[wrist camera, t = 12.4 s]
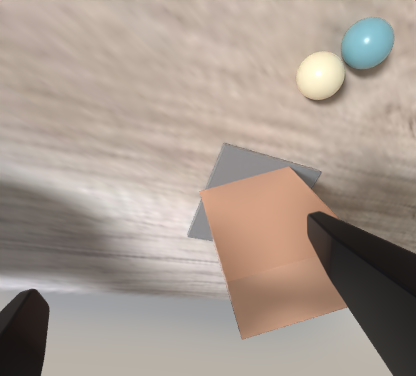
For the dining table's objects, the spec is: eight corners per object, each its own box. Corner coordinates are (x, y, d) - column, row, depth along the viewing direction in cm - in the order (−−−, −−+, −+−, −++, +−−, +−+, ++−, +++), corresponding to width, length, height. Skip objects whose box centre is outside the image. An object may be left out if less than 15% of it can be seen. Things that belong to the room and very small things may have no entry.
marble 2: (324, 57, 20) (350, 62, 17) (347, 9, 19) (379, 8, 16) (356, 71, 21) (385, 79, 18) (381, 27, 20) (416, 29, 17)
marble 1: (281, 86, 21) (300, 96, 18) (301, 42, 19) (325, 46, 17) (315, 99, 21) (338, 110, 19) (336, 58, 20) (364, 64, 18)
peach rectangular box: (213, 241, 26) (242, 339, 18) (199, 191, 23) (226, 282, 15) (292, 218, 27) (354, 304, 19) (288, 166, 24) (361, 242, 16)
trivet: (187, 234, 26) (187, 236, 25) (223, 142, 22) (225, 144, 22) (273, 248, 29) (274, 251, 28) (318, 170, 25) (321, 172, 24)
